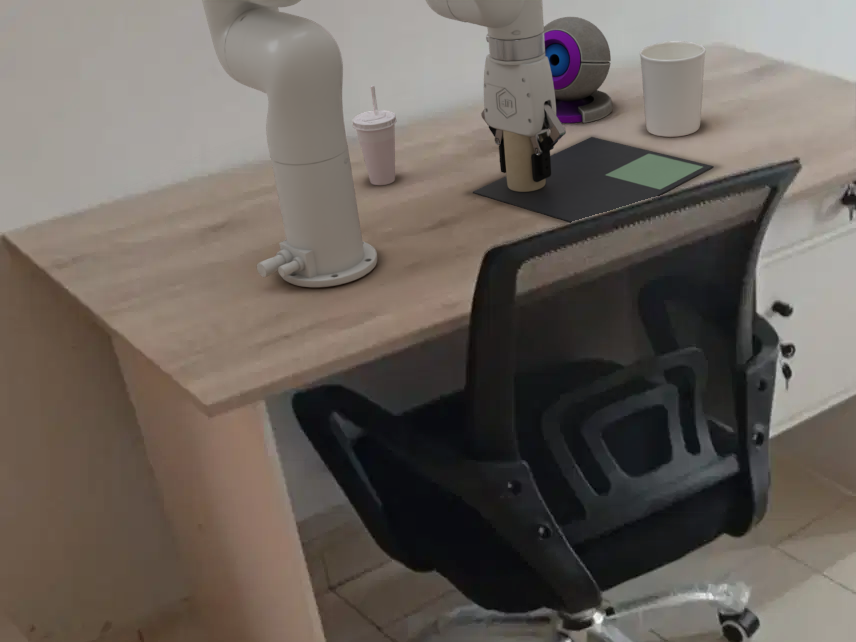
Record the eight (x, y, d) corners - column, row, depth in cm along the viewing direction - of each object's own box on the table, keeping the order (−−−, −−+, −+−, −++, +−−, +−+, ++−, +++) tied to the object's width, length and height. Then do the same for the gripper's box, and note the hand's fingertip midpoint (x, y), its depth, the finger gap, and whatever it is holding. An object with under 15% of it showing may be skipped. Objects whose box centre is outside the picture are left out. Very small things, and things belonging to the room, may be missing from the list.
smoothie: (413, 177, 184) (401, 84, 177) (381, 191, 181) (367, 97, 173) (384, 169, 188) (371, 77, 181) (352, 183, 185) (337, 90, 177)
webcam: (518, 119, 202) (511, 26, 194) (557, 95, 211) (552, 4, 203) (589, 128, 196) (585, 31, 188) (626, 102, 205) (623, 9, 197)
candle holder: (703, 138, 188) (703, 59, 182) (638, 139, 190) (636, 61, 184) (707, 116, 196) (707, 40, 190) (644, 117, 198) (643, 41, 192)
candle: (552, 180, 178) (548, 112, 173) (533, 194, 174) (528, 125, 169) (520, 175, 181) (515, 108, 176) (500, 189, 177) (494, 120, 172)
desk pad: (594, 229, 163) (594, 228, 163) (472, 192, 177) (472, 191, 177) (713, 167, 178) (713, 165, 178) (591, 137, 192) (591, 136, 192)
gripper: (452, 44, 170) (465, 170, 180) (544, 63, 160) (552, 195, 169) (491, 31, 175) (501, 154, 184) (583, 48, 164) (589, 178, 174)
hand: (525, 173), depth 177 cm, fingers closed on candle, 5 cm apart
